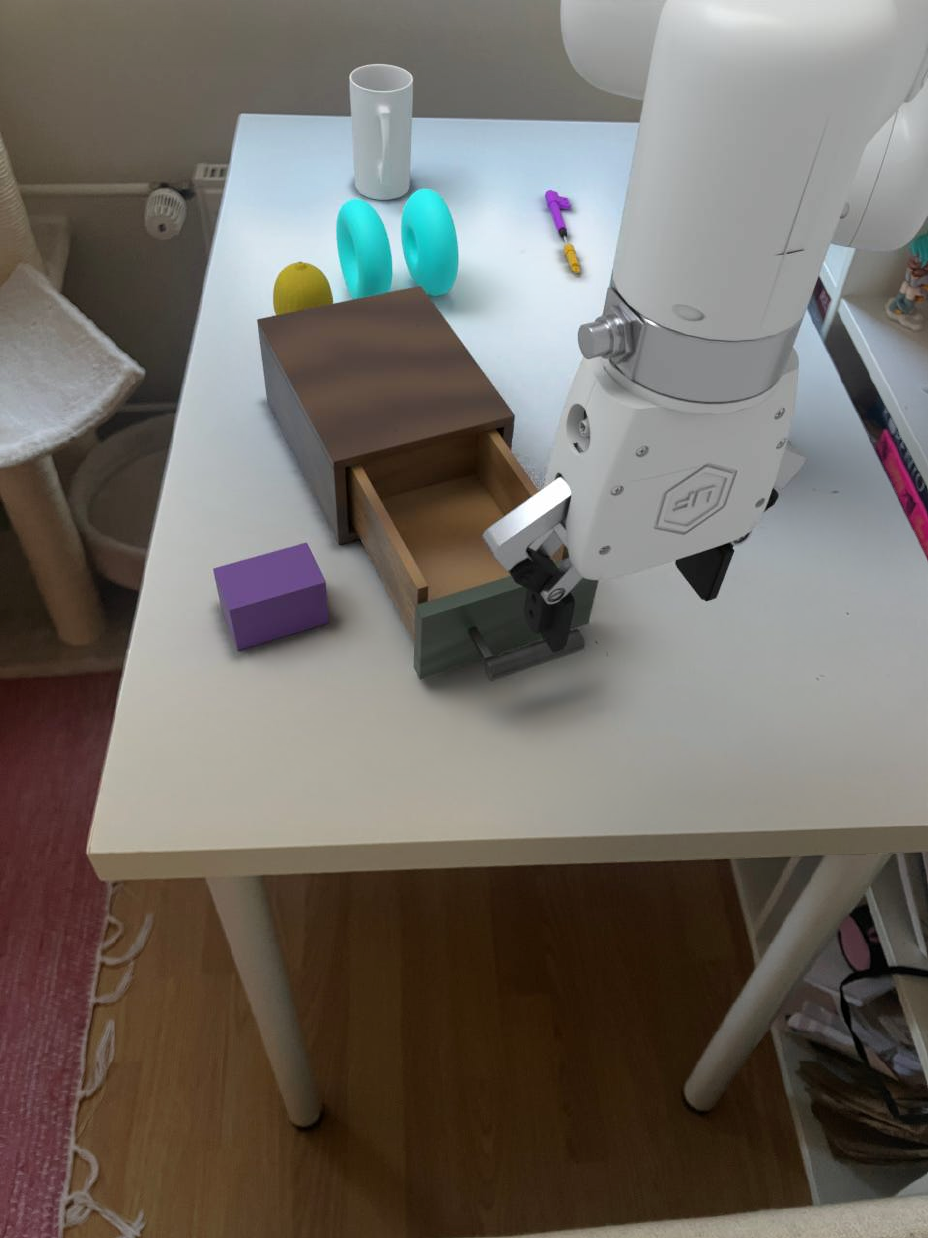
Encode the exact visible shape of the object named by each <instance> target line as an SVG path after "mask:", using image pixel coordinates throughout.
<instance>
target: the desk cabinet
mask: <svg viewBox="0 0 928 1238" xmlns="http://www.w3.org/2000/svg"><path fill="white" fill-rule="evenodd" d="M256 322H257V323H256V324H257V331H258V340H259V347H260V356H261V363H262V373H263V380H264V381H263V382H264V388H265V396H266V402H267V406H268V407H269V409H270V412H271V413H272V415H273V417H274V419H275V421H276V423H277V425H278V427H279V429H280V431H281V433H282V435H283V437H284V439H285V441H286V443H287V445H288V447H289V450H290V451H291V453H292V455H293V457H294V459H295V461H296V463H297V465H298V467H299V469H300V471H301V473H302V474H303V477H304V479H305V481H306V483H307V484H308V485H307V486H309V489H310V491H311V493H312V496H313V497H314V498H315V501H316V503H317V505H318V506H319V508H320V510H321V512H322V513H321V514H323V516H324V519H325V520H326V523H327V525H328V526H329V529H330V530H331V532H332V535H333V536H334V539H335V540H336V542H337V544H338V545H343V544H347V543H351V542H353V541H357V540H361V539H360V538H359V536H358V534H357V532H356V530H355V528H354V526H353V524H352V522H351V520H350V518H349V517H348V511H347V492H346V473H345V467H349V466H353V465H357V464H361V463H364V462H368V461H372V460H376V459H380V458H384V457H388V456H392V455H396V454H399V453H403V452H407V451H411V450H415V449H419V448H423V447H427V446H430V445H434V444H438V443H442V442H446V441H450V440H454V439H458V438H461V437H465V436H469V435H473V434H477V433H481V432H485V431H489V430H493V429H496V430H497V432H498V433H499V434H500V436H501V437H502V439H503V440H504V442H505V443H506V445H507V446H508V447H509V449H510V450H511V451H512V448H513V447H512V446H513V438H514V430H515V421H516V415H515V413H514V412H513V411H512V409H511V408H510V406H509V404H508V403H507V402H506V401H505V399H504V398H503V397H502V395H501V394H500V392H499V391H498V390H497V388H496V387H495V385H494V384H493V382H491V380H490V379H489V377H488V376H487V375H486V373H485V372H484V371H483V369H482V367H481V366H480V365H479V364H478V362H477V361H476V359H475V358H474V357H473V355H472V354H471V352H470V351H469V349H468V348H467V347H466V346H465V344H464V343H463V341H462V340H461V339H460V338H459V336H458V335H457V333H456V332H455V330H454V329H453V328H452V326H451V325H450V324H449V322H448V321H447V320H446V318H445V317H444V315H443V314H442V312H441V311H440V310H439V308H438V307H437V306H436V304H435V303H434V301H433V300H432V299H431V297H430V295H429V294H427V293H426V292H425V291H424V289H423V288H422V287H421V286H417V285H416V286H413V287H408V288H407V287H406V288H403V289H402V288H401V289H397V290H393V291H392V290H391V291H389V292H387V293H382V294H378V295H373V296H368V297H363V298H358V299H354V298H352V299H349V300H344V301H340V302H335V303H334V302H333V304H329V305H324V306H319V307H314V308H309V309H305V310H300V311H295V312H290V313H285V314H280V315H276V314H274V315H271V316H265V317H261V318H257V319H256Z"/></svg>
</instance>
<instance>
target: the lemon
mask: <svg viewBox="0 0 928 1238" xmlns="http://www.w3.org/2000/svg"><path fill="white" fill-rule="evenodd" d="M333 296H334V295H333V291H332V289H331V286H330V282H329V280H328V278H327V276H326V275H325V274H324V272H323V271H322V270H321V269H320V268H318V267H317V266H316V265H314V264H312V263H308V262H304V261H297V262H294V263H290V264H288V265H287V266H285V267H284V268H283V269H282V270H281V271H280V272H279V273H278V275H277V277H276V279H275V281H274V285H273V292H272V305H273V312H274V315H280V314H285V313H290V312H295V311H300V310H305V309H309V308H314V307H319V306H324V305H329V304H334V297H333Z"/></svg>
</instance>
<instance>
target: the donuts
mask: <svg viewBox="0 0 928 1238" xmlns="http://www.w3.org/2000/svg"><path fill="white" fill-rule="evenodd" d="M335 225H336V226H335V227H336V229H335V230H336V232H335V234H336V246H337V254H338V259H339V260H338V261H339V265H340V268H341V269H340V270H341V272H342V276H343V279H344V283H345V285H346V287H347V290H348V292H349V294H350V296H351V297H352V299H358V298H363V297H368V296H373V295H378V294H382V293H387V292H390V290H391V286H392V280H393V256H392V250H391V244H390V238H389V236H388V233H387V229H386V226H385V224H384V222H383V220H382V218H381V216H380V214H379V213H378V211H377V210H376V209H375V207H374V206H372V205H371V203H369V202H367V201H366V200H364V199H360V198H352V199H351V198H350V199H348V200H347V201H345V202H344V203H343V204H342V205H341V207H340V209H339V211H338V213H337V217H336V224H335ZM400 237H401V238H400V239H401V247H402V252H403V257H404V260H405V264H406V267H407V270H408V272H409V275H410V276H411V279H412V280H413V281H414V283H415V284H416V287H417V286H421V287H422V288H423V289H424V291H425V292H426V293H427V295H428V296H433V297H434V296H435V297H438V296H439V297H440V296H442V295H445V294H446V293H448V292H449V291H450V290H451V289H452V288H453V286H454V284H455V282H456V279H457V275H458V271H459V261H460V260H459V258H460V257H459V242H458V235H457V229H456V226H455V222H454V218H453V216H452V212H451V211H450V208H449V206H448V203H447V202H446V201H445V199H444V198H443V196H441V194H439V192H437V191H435V190H434V189H431V188H420V189H418V190H416V191H414V192H413V193H412V194H411V195H409V197H408V198H407V200H406V202H405V205H404V207H403V211H402V215H401V222H400Z"/></svg>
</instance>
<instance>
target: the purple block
mask: <svg viewBox="0 0 928 1238" xmlns="http://www.w3.org/2000/svg"><path fill="white" fill-rule="evenodd" d="M212 571H213V575H214V581H215V585H216V590H217V595H218V599H219V604H220V608H221V612H222V614H223V617H224V619H225V622H226V625H227V628H228V630H229V632H230V636H231V638H232V640H233V643H234V645H235V649H236V650H237V651H241V650H244V649H248V648H250V647H251V648H252V647H254V646H257V645H260V644H264V643H268V642H270V641H274V640H277V639H280V638H283V637H286V636H289V635H292V634H296V633H300V632H303V631H306V630H309V629H312V628H316V627H319V626H323V625H326V624H329V623H330V615H329V614H330V613H329V604H328V602H329V601H328V591H327V582H326V579H325V577H324V575H323V573H322V570H321V569H320V567H319V565H318V563H317V560H316V558H315V556H314V554H313V552H312V550H311V547H310V546H309V544H308V542H304V543H299V544H296V545H292V546H288V547H284V548H282V549H277V550H275V551H270V552H267V553H264V554H260V555H257V556H253V557H248V558H245V559H242V560H239V561H235V562H231V563H228V564H224V565H221V566H217V567H214V568H213V569H212Z"/></svg>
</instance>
